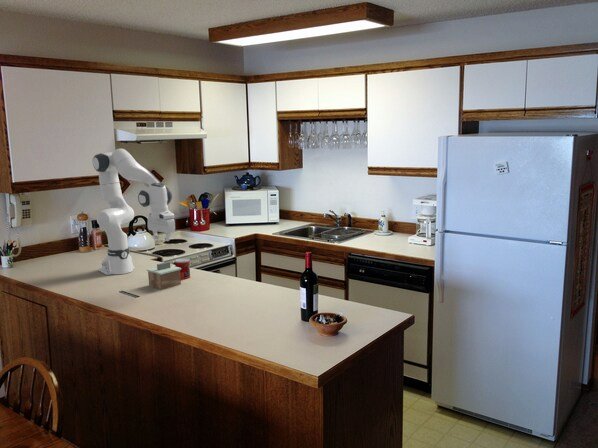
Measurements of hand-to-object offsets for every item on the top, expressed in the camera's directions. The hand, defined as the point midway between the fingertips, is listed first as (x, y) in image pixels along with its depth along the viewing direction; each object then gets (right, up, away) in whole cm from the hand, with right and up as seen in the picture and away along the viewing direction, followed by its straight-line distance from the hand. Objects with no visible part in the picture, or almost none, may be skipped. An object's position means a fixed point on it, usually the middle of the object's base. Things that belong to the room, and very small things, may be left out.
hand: (161, 239), depth 291 cm
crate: (+1, -25, +5) cm, 26 cm away
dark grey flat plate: (-10, -27, -3) cm, 29 cm away
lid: (+1, -18, +3) cm, 18 cm away
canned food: (+7, -23, +18) cm, 30 cm away
